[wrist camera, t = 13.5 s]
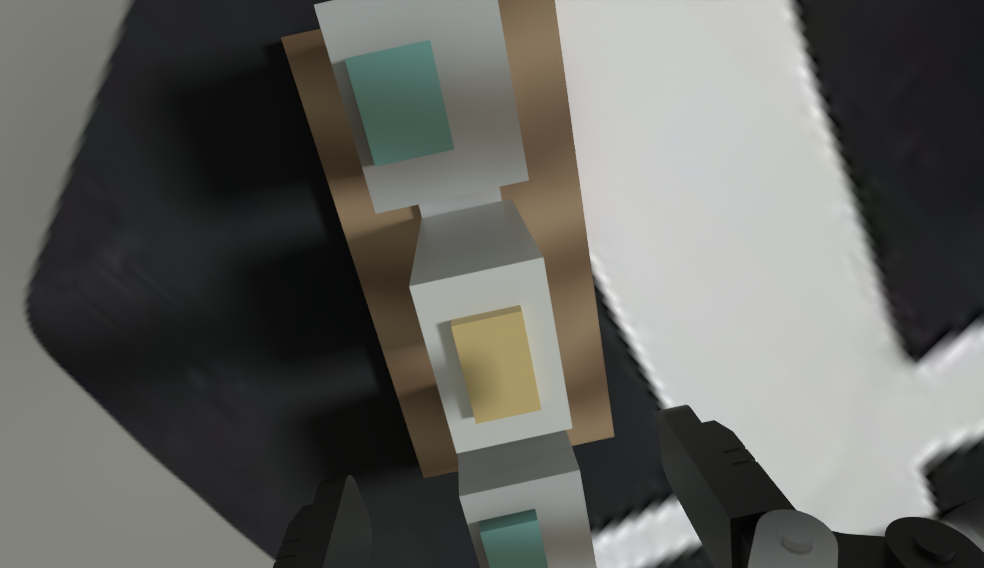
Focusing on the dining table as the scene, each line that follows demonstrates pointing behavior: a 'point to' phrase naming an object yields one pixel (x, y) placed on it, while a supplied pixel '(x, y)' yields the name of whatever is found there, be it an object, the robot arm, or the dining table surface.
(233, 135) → the dining table surface
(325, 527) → the robot arm
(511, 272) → the block
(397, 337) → the rail board
